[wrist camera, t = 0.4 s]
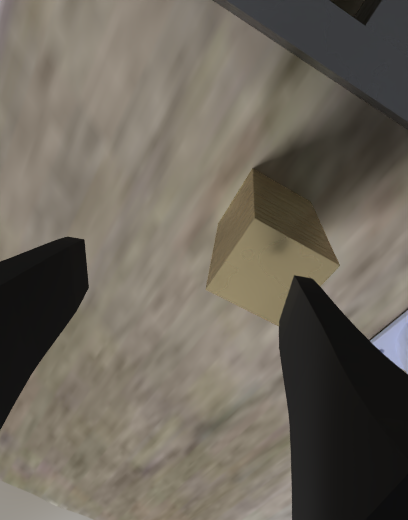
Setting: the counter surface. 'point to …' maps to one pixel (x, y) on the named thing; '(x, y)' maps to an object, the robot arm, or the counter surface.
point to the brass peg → (267, 247)
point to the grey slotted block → (342, 44)
